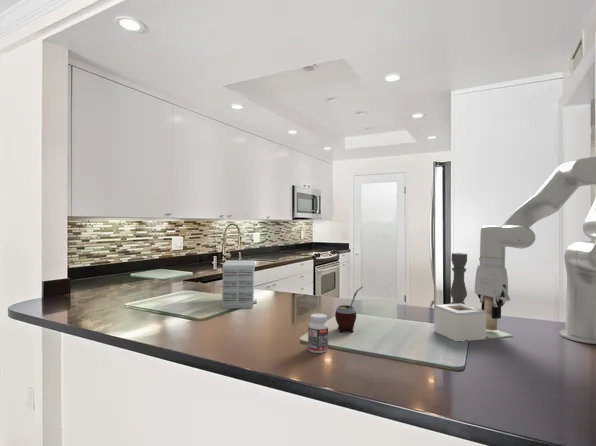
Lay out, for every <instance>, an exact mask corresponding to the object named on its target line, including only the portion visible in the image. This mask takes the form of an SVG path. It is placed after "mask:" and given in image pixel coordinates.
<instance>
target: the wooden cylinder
mask: <svg viewBox="0 0 596 446" xmlns="http://www.w3.org/2000/svg"><path fill="white" fill-rule="evenodd" d="M497 302H498V299H497ZM493 306H494V304H493V298H492V297H488V296H484V311H486V329H487V330H493V331H495V330H498V319H493V318H492V307H493Z"/></svg>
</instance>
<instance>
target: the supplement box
mask: <svg viewBox="0 0 596 446" xmlns="http://www.w3.org/2000/svg"><path fill="white" fill-rule="evenodd" d="M254 289H255V260H243V259H242V260H241V259H239V260H235V259H234V260H233V259H232V260H231V259H230V260H228V259H227V260H225V262H224V263H223V265H222V290H221V291H222V294H221V295H222V299H221V300H222V301H221V308H222V309H253V308H254V300H255V299H254V298H255V297H254V294H255V292H254V291H255V290H254Z"/></svg>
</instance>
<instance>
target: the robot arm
mask: <svg viewBox="0 0 596 446" xmlns="http://www.w3.org/2000/svg"><path fill="white" fill-rule="evenodd" d="M592 185H595V187H596V156H589V157H584V158H579V159H574V160H570V161H566V162H564V163H562V164H560V165H559V166H558V167H557V168H556V169H555V170H554V171H553V173H552V174H551V175H550V176H549V177H548V179H546V181H545V182H544V183H543V184H542V185H541V187H539V189H538V190H537V191H536V192H535V194H533V196H531V197H530V198H529V199H528V200H527V201H525V202H524V203H523V204H522V205H520V206H519V207H518V208H517V209H516V210H515V211H514V212H512V213H511V215H510V216H509V217H508V218H507V219H506V220H505V222H503V223H502V224H501V225H483V226H481V228H480V235H479V237H480V240H479V241H480V242H479V258H478V261H479V264H477V268H476V272H475V279H474V280H475V281H474V293H475V295H476V296H477V297H478V299H479V303H480V304H481V308H480V309H481V310H484V296H488V297H492V298H493V304H494V306H493V307H492V318H493V319H497V320H499V319H501V318H502V308H503V307H504V305H505V304H506V303H508V302H510V301H511V298H510V296H509V278H508V272H507V267H506V247H507V248H512V249H513V248H515V249H521V250H522V249H527V248H529V247H531V246H532V245H533V244H534V243H535V242H536V234H535V231H534V230H532V229H531V227H532V226H533V225H534V224H536V223H537V222H539V221H541V220H544V218H545V219H546V218H547V217H549V216H551V215H554V214H555V213H557V212H558V211H559V210H560V209H561V208H562V207H563V206H564V205H565V204H566V202H567V201H568V200H569V199H570V198H571V197H572V196H573V194H575V192H576V191H577V190H578V189H579V188H580V187H583V186H584V187H585V186H592ZM583 222H584V223H583V225H582V232H583V233H584V235H585V236H586V237H588V238H589V239H591V240H592V239H593V240H596V198H595V199H594V202H593V203H592V206H591V208H590V210H589V212H588V213H587V215H586V218H585V220H584V221H583ZM564 251H565V252H564V256H563V258H564V265H565V273H566V295H565V296H566V297H565V298H566V299H565V301H566V303H565V328H562V329H560V330H559V334H560V336H561V337H563V338H565V339H568V340H571V341H575V342H578V343H583V344H584V343H585V344H588V345H589V344H591V345H596V241H585V240H582V241H576V242H573V243H571V244H570V245H568V247H566V248H565V250H564ZM497 299H498V302H497Z"/></svg>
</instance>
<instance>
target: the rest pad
mask: <svg viewBox="0 0 596 446" xmlns="http://www.w3.org/2000/svg"><path fill="white" fill-rule="evenodd" d="M510 337H513V334H511V333H508V332H505V331H501V330H499V329H497V330H495V331H493V330H487V329H486V338H488V339H500V338H501V339H502V338H510Z"/></svg>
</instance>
